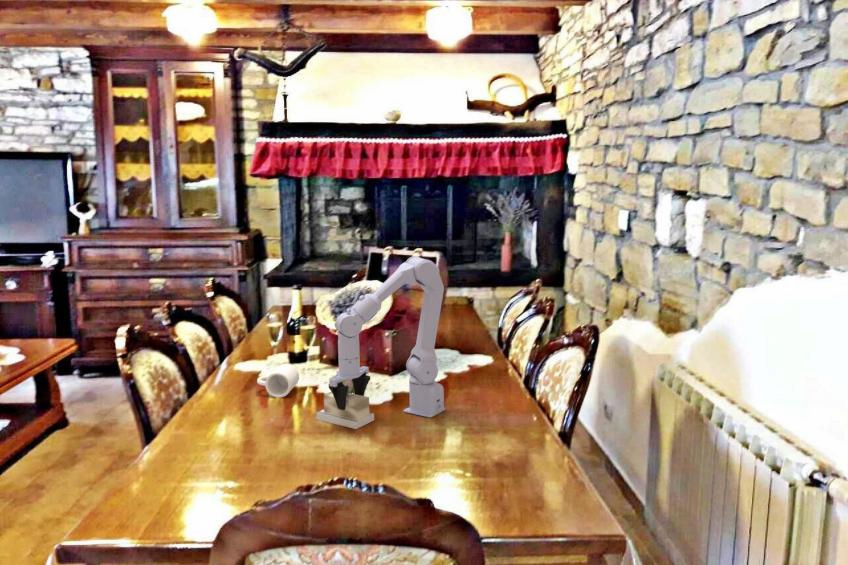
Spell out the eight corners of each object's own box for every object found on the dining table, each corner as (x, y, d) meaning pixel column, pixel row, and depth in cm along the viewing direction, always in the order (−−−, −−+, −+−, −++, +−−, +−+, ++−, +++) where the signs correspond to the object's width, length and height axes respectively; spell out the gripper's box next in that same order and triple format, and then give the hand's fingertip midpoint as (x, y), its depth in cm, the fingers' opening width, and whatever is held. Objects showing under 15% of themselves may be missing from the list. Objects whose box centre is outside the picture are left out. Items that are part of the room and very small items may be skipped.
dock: (374, 420, 197) (373, 413, 196) (355, 429, 190) (355, 421, 190) (335, 411, 204) (335, 404, 204) (316, 419, 198) (316, 412, 198)
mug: (299, 388, 226) (298, 363, 225) (291, 398, 217) (289, 372, 215) (263, 387, 228) (262, 363, 226) (252, 397, 218) (251, 372, 217)
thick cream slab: (369, 414, 195) (369, 397, 195) (358, 420, 191) (357, 402, 190) (336, 406, 202) (335, 390, 201) (324, 412, 198) (323, 394, 197)
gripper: (354, 349, 201) (355, 395, 204) (319, 361, 189) (321, 410, 192) (374, 352, 198) (375, 399, 200) (340, 365, 186) (341, 414, 188)
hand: (350, 405), depth 195 cm, fingers open, 7 cm apart
